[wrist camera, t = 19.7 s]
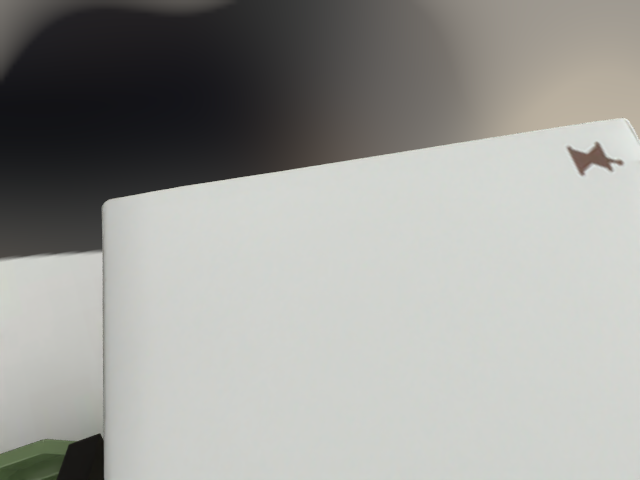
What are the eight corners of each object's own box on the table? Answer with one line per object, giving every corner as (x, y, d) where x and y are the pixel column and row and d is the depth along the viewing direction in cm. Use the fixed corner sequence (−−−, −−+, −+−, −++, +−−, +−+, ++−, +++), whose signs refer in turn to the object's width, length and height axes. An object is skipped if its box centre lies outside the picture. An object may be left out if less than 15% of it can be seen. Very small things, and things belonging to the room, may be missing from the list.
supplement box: (243, 375, 23) (85, 173, 8) (437, 339, 24) (627, 87, 9) (272, 628, 19) (65, 1170, 4) (506, 576, 20) (1088, 879, 5)
